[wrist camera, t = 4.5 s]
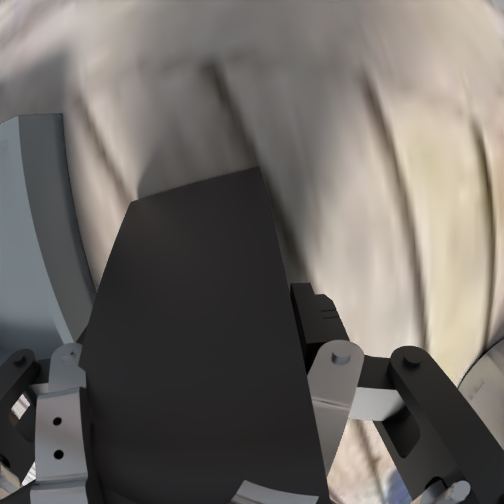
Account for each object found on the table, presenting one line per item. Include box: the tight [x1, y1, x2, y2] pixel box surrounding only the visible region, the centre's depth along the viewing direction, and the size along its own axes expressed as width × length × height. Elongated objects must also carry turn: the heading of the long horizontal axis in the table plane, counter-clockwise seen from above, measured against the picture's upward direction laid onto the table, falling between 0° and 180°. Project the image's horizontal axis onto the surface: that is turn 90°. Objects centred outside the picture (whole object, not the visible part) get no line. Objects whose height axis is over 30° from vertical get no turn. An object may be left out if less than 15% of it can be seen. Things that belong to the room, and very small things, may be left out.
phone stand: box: [78, 167, 330, 504], centre depth 9 cm, size 9×6×12 cm, turn 13°
